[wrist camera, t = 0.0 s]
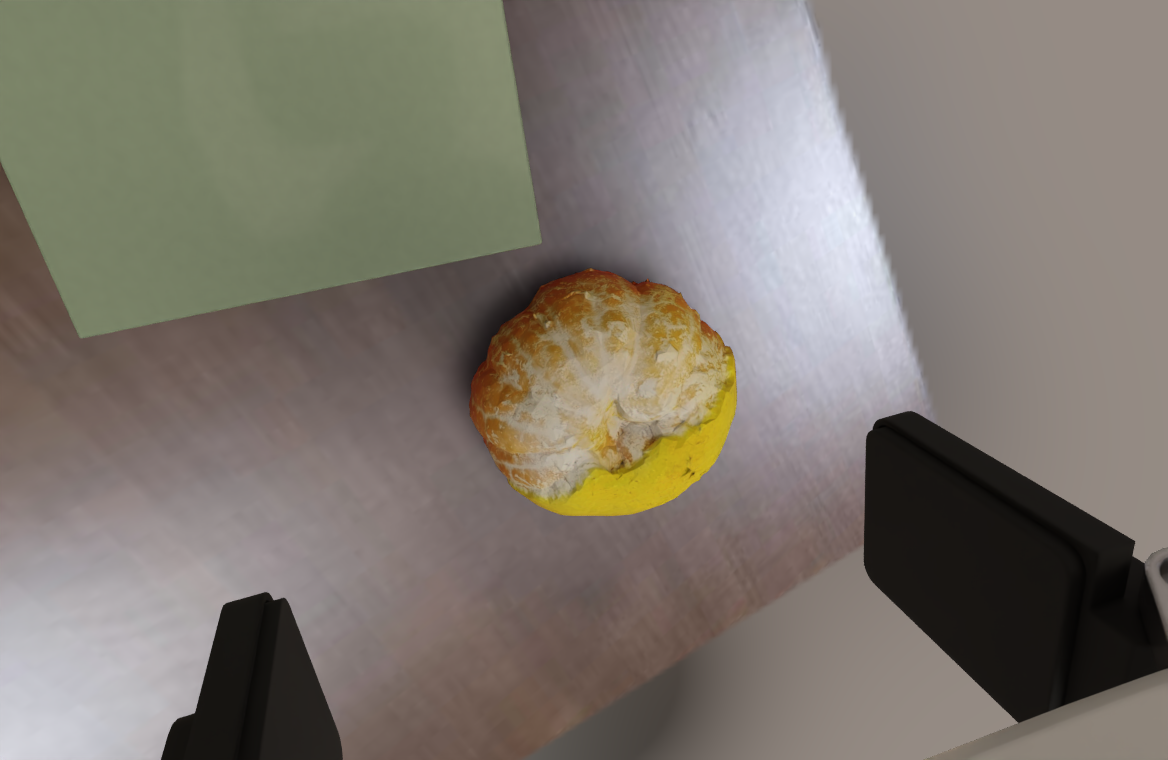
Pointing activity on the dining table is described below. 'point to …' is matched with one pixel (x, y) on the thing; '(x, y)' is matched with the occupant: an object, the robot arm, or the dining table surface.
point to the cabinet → (257, 146)
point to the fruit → (604, 396)
